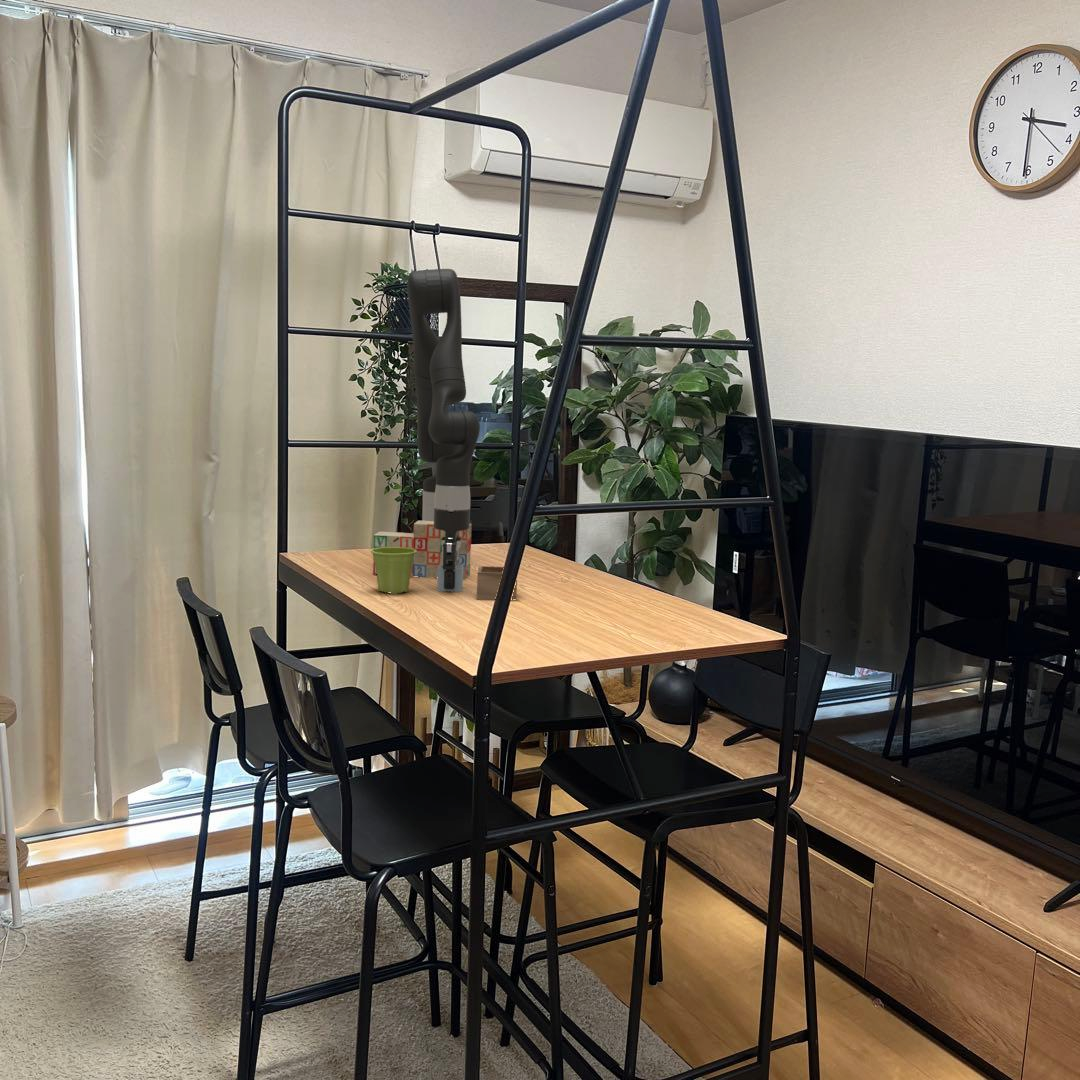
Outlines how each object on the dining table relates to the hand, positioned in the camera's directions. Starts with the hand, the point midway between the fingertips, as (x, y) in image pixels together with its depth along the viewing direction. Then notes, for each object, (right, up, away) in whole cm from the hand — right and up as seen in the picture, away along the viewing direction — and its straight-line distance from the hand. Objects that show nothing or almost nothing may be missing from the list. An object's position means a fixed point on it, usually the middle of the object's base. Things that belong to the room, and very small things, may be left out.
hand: (450, 586), depth 222 cm
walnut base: (+10, -2, -6) cm, 12 cm away
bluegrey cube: (0, -1, 0) cm, 1 cm away
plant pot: (-12, -1, -4) cm, 12 cm away
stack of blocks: (-8, +1, +16) cm, 18 cm away
